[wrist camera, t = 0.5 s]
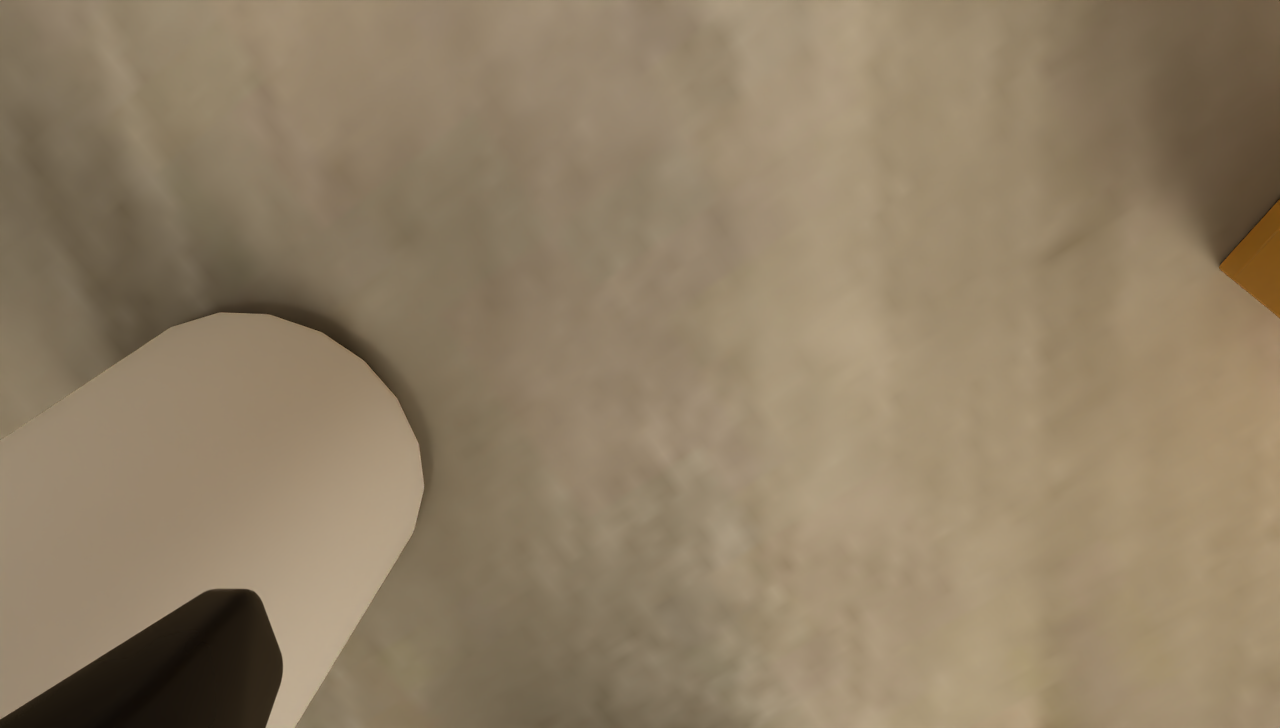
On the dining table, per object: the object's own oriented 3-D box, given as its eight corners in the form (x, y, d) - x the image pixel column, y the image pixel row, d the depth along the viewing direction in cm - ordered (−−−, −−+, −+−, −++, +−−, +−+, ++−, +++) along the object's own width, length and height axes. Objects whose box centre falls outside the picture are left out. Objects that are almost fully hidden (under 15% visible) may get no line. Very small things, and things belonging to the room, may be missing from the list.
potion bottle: (319, 244, 24) (-712, 966, 7) (494, 513, 26) (15, 1482, 10) (79, 372, 26) (-1077, 1116, 10) (260, 605, 29) (-422, 1495, 13)
